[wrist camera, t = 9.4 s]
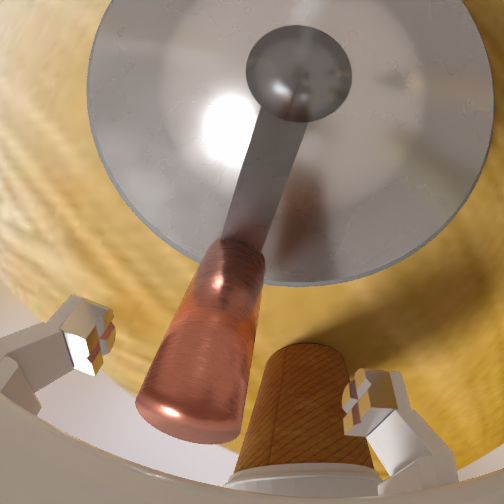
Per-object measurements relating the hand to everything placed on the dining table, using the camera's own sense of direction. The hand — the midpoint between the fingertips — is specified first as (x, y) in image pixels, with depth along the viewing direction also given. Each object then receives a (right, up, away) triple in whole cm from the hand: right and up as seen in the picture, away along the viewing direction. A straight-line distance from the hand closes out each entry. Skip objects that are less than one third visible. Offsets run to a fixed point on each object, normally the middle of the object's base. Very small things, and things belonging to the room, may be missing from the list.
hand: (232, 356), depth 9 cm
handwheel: (+2, +10, +2) cm, 11 cm away
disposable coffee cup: (+5, -6, +13) cm, 15 cm away
